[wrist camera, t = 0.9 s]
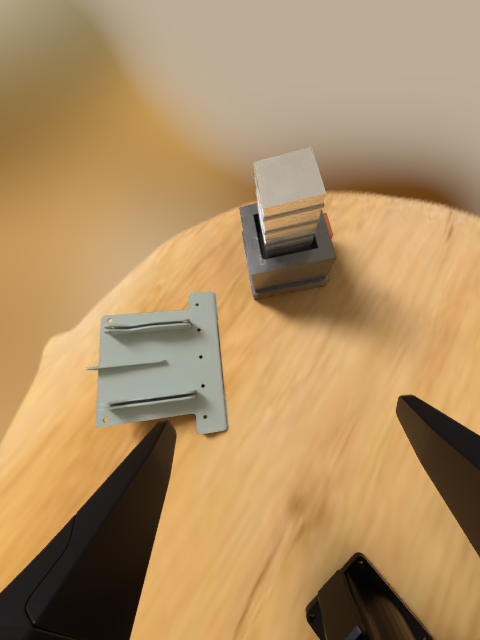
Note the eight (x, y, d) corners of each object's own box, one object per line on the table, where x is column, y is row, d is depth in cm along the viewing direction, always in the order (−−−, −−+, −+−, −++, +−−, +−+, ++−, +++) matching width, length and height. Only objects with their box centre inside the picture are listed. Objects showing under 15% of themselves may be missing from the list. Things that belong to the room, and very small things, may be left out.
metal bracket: (71, 460, 17) (84, 292, 21) (105, 441, 23) (110, 311, 27) (241, 431, 19) (225, 284, 23) (235, 420, 25) (222, 303, 29)
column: (307, 265, 22) (329, 194, 13) (266, 273, 22) (261, 210, 14) (298, 230, 23) (313, 144, 14) (259, 239, 23) (251, 161, 15)
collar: (327, 285, 23) (343, 258, 18) (253, 299, 24) (248, 278, 19) (310, 224, 25) (320, 184, 20) (243, 239, 26) (235, 205, 21)
